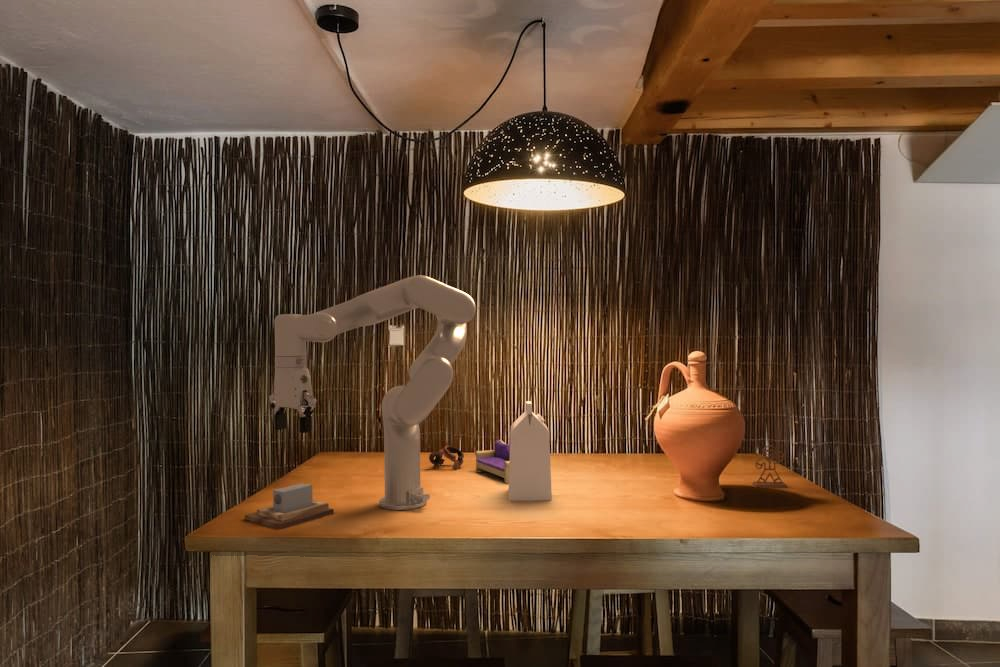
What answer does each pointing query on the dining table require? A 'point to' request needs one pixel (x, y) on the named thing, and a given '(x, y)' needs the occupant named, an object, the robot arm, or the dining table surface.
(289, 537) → the dining table surface
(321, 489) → the dining table surface
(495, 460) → the toy sofa
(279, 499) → the grey rectangular block
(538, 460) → the milk
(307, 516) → the jig
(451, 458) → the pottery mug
